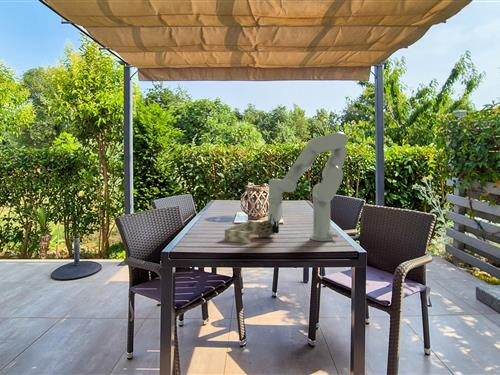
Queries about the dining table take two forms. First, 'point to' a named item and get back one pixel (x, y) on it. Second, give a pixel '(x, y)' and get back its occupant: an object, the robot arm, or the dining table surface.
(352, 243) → the dining table surface
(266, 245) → the dining table surface
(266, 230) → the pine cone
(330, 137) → the robot arm
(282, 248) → the dining table surface
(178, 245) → the dining table surface
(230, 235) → the box
